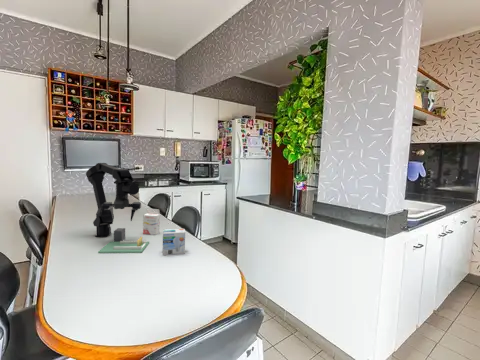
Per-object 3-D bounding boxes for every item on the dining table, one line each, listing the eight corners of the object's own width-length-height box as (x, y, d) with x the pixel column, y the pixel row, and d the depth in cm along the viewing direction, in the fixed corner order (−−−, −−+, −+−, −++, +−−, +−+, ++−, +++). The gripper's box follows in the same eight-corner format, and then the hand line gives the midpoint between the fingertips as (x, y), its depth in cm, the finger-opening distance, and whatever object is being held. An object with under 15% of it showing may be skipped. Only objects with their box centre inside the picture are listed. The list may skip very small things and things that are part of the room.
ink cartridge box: (142, 234, 148) (142, 210, 147) (146, 231, 153) (146, 208, 152) (156, 235, 148) (156, 210, 146) (160, 232, 153) (160, 209, 151)
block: (113, 231, 133) (117, 228, 139) (113, 242, 134) (117, 238, 139) (121, 231, 134) (125, 228, 139) (121, 241, 134) (125, 238, 140)
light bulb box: (162, 255, 118) (162, 233, 117) (162, 250, 124) (162, 229, 124) (185, 253, 121) (185, 232, 120) (184, 248, 127) (184, 228, 126)
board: (98, 253, 118) (98, 243, 118) (110, 243, 132) (110, 234, 131) (141, 252, 120) (141, 243, 120) (149, 242, 134) (149, 234, 134)
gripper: (98, 194, 122) (98, 225, 124) (138, 195, 127) (138, 224, 129) (104, 191, 133) (104, 220, 135) (141, 191, 138) (141, 219, 139)
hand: (122, 221), depth 134 cm, fingers open, 9 cm apart
